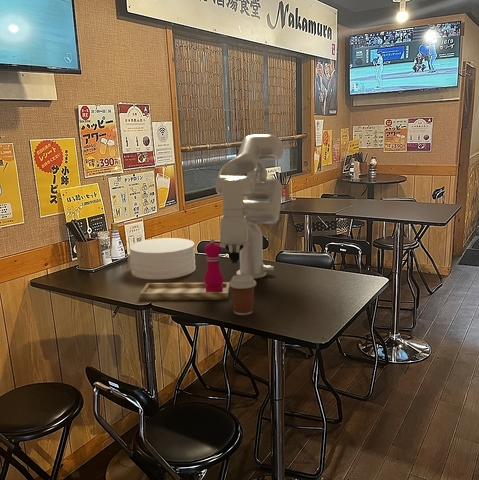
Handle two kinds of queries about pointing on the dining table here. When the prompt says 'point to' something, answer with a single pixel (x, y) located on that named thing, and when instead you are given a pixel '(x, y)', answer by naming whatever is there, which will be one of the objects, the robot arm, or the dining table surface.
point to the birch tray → (181, 291)
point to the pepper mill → (213, 268)
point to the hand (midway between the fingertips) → (234, 262)
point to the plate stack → (162, 258)
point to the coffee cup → (242, 293)
